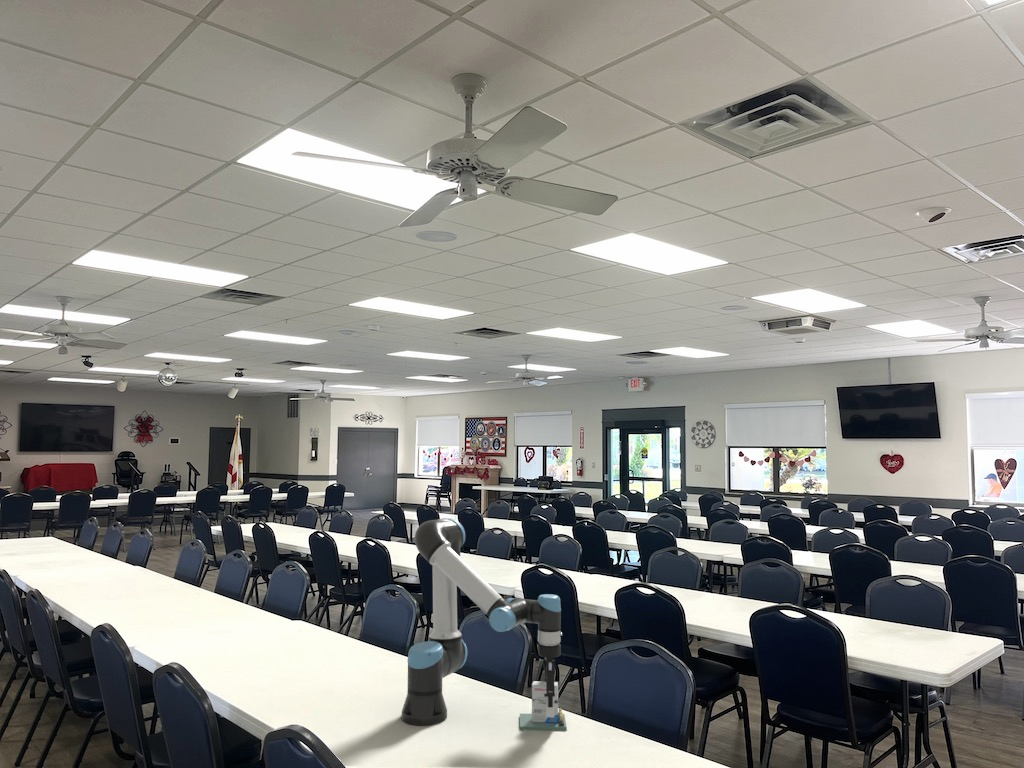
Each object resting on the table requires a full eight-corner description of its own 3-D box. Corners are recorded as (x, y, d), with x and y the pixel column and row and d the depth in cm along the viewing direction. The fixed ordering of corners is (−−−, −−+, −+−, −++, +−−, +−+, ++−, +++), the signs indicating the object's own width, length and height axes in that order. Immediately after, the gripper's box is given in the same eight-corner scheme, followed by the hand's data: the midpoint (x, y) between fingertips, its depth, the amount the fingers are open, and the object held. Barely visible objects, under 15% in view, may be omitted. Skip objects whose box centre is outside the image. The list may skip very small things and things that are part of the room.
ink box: (558, 718, 239) (558, 681, 240) (557, 723, 234) (557, 685, 235) (532, 716, 240) (533, 680, 241) (531, 722, 235) (531, 684, 236)
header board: (519, 729, 231) (519, 718, 231) (519, 716, 243) (519, 705, 243) (566, 730, 231) (566, 718, 231) (564, 717, 243) (564, 705, 243)
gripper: (562, 653, 227) (562, 723, 225) (558, 634, 252) (558, 697, 250) (539, 652, 227) (538, 723, 225) (537, 634, 252) (537, 697, 250)
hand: (549, 709), depth 237 cm, fingers open, 13 cm apart
